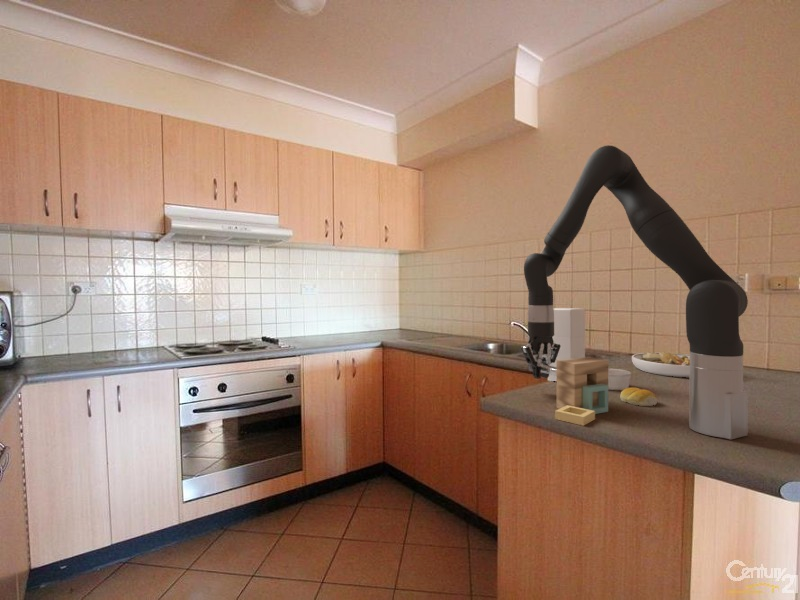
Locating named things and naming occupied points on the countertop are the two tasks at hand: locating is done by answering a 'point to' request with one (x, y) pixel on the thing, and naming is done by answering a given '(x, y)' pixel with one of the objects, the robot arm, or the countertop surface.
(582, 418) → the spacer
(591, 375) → the block
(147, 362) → the countertop surface
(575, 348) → the tall white carton
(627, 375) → the ramekin
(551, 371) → the shaft
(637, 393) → the bread roll
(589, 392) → the frame
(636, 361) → the bowl
